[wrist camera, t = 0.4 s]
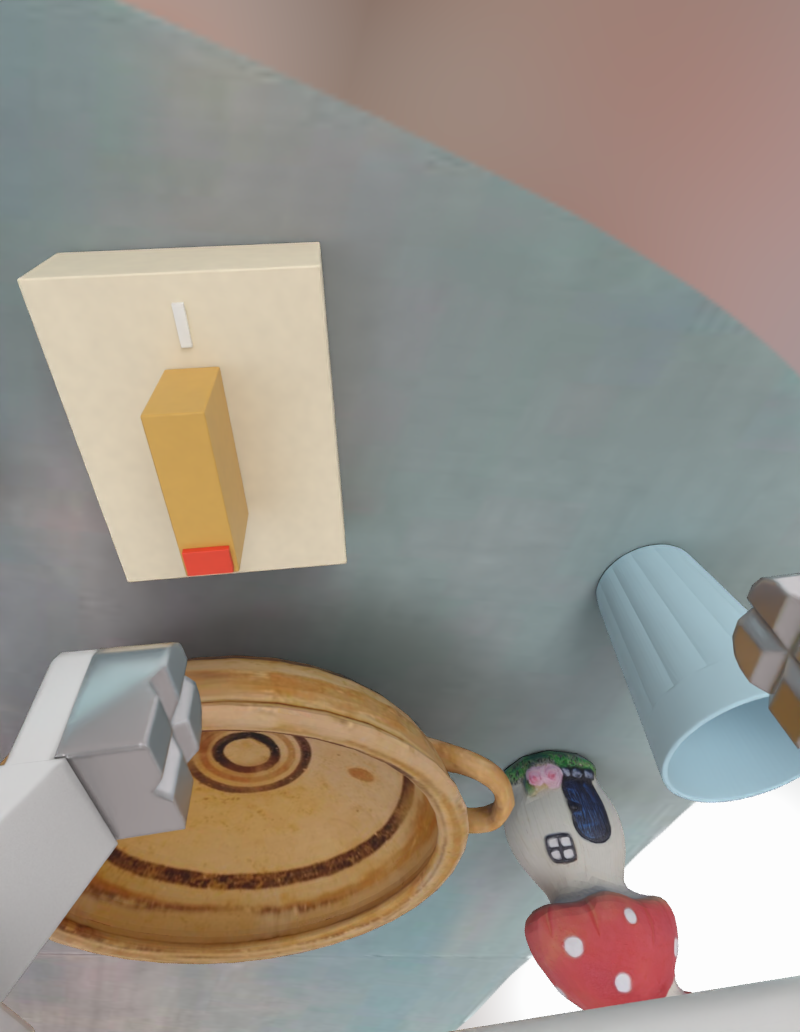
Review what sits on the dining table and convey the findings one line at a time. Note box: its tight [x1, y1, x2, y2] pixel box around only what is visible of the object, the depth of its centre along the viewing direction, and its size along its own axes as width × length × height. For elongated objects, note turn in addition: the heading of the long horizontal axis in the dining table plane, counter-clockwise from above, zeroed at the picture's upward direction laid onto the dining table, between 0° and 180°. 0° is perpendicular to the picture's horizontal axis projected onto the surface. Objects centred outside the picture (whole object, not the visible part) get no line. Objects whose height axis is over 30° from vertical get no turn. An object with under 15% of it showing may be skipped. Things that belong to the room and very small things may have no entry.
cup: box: [596, 544, 800, 802], centre depth 29 cm, size 8×8×10 cm
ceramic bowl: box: [0, 656, 515, 964], centre depth 33 cm, size 30×24×8 cm
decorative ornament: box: [504, 751, 691, 1010], centre depth 38 cm, size 9×7×15 cm
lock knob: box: [140, 367, 249, 576], centre depth 20 cm, size 6×2×4 cm, turn 1°
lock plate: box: [17, 242, 347, 582], centre depth 23 cm, size 12×9×4 cm
